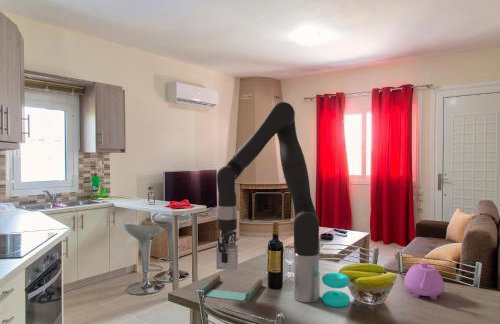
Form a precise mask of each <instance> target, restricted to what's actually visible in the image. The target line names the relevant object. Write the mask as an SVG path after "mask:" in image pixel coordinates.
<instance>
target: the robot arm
mask: <svg viewBox="0 0 500 324" xmlns="http://www.w3.org/2000/svg"><path fill="white" fill-rule="evenodd" d="M294 109H295V108H294V107H293V105H292V104H290V103H289V102H285V101H282V102H281V101H280V102H278V103H276V104H274V105H273V106H272V108H271V110H270V111H269V113H268V114H267V117H266V118H265V119H264V121H263V122H262V124H261V125H260V126H259V127H258V128H257V129H256V131H255V132H254V133H253V134H251V136H250V137H249V138H247V140H246V141H245V142H244V143H243V144H242V145H241V146H240V147H239V148H238V150H237V151H236V152H235V153H234V154H233V156H232V158H231V159H230V160H229V161H228V162H227V163H226V164H225V165H224V166H222V167H220V168H219V169H218V171H217V174H216V183H217V184H216V185H217V190H218V191H217V192H218V195H217V196H218V198H217V199H218V200H217V205H218V207H217V230H218V231H220V232H221V235H220V237H217V244H218V245H217V246H218V249H219V252H220V253H222V263H227V262H228V247H229V246H230V245H236V240H237V231H236V230H237V229H238V211H237V193H236V190H235V189H236V188H235V187H236V185H235V184H236V180H237V179H238V178H239V177H240V176H241V174H242V173H243V171H244V170H245V169H246V168H248V167H249V165H250V164H251V163H253V161H254V160H255V159H256V158H257V157H258V156H259V154H261V152H262V151H263V150H264V148H265V147H266V146H267V144H268V143H269V142H270V141H271V139H272V138H273V137H274V136H275V135H276V136H277V138H278V139H277V140H278V143H279V157H280V164H281V169H282V174H283V178H284V181H285V183H286V184H285V185H286V186H287V189H288V191H289V194H290V196H291V200H292V203H293V204H292V205H293V210H294V211H293V212H294V221H293V246H294V247H293V250H294V252H293V254H294V258H293V259H294V260H293V264H294V265H293V266H294V267H293V268H294V269H293V270H294V272H293V273H294V274H293V275H294V279H293V280H294V281H293V283H294V288H293V289H294V290H293V295H294V296H293V297H294V299H295V300H296V301H297V302H301V303H306V304H307V303H318V302H319V299H320V294H321V293H320V291H321V289H320V288H321V286H320V284H321V282H320V276H321V275H320V271H319V270H320V269H319V268H320V266H319V265H320V262H319V261H320V241H319V240H320V222H319V221H320V220H319V218H318V214H317V212H316V209H315V206H314V203H313V200H312V196H311V185H310V179H309V178H310V177H309V171H308V166H307V163H306V159H305V155H304V151H303V150H302V147H301V145H300V142H299V139H298V135H297V129H296V119H295V117H296V112H295V110H294Z"/></svg>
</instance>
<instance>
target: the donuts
mask: <svg viewBox="0 0 500 324" xmlns="http://www.w3.org/2000/svg"><path fill="white" fill-rule="evenodd" d="M321 280H322V283H323V284H324V285H325V286H327V287H329V288H332V290H328V291H325V292H324V293H323V294H322V297H321V299H322V302H323V303H324V304H325V305H326V306H328V307H329V306H330V307H332V308H333V307H334V308H344V307H347V306H349V304H350V302H351V300H350V299H351V298H350V296H349V295H348V294H347V293H345V292H343V291H341V290H333V289H343V288H346V287H348V286H349V285H350V283H351V279H350V277H349V276H348V275H346V274H344V273H339V272H327V273H325V274H323V276H322V278H321Z"/></svg>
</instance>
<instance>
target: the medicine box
mask: <svg viewBox="0 0 500 324" xmlns="http://www.w3.org/2000/svg"><path fill="white" fill-rule="evenodd" d="M238 247H239V246H238V245H237V244H235V245H230V246H229V247H228V262H227V263H222V253H220V252H219V249H218V245H217V246H216V247H215V249H216V250H215V253H216V257H215V258H216V259H215V263H216V270H233V271H234V270H235V271H236V270H237V269H238V267H239V250H238V249H239V248H238Z"/></svg>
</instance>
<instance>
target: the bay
mask: <svg viewBox="0 0 500 324" xmlns="http://www.w3.org/2000/svg"><path fill="white" fill-rule="evenodd" d="M220 281H221V275H220V274H217V275H215V276H213V277H212V278H211V279H210V280H209V281H208V282H206V283H205V284H204V285H202V286H201V287H200V288H199V290H204V293H205V294H207V293H208V292H209V291H210V290H211V289H212V288H213V287H214V286H216V285H217V284H219V282H220ZM262 286H263V279H257V281H256V283H254V284H253V286H252V287H251V288H250V289H249V290H248V291H247V292H246V299H245V302H247V303H249V302H250V301H251V300H252V298H253V297H254V296H255V295H256V294H257V292H258V291H259V290H260V289H261V288H262ZM199 290H198V291H199Z"/></svg>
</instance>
